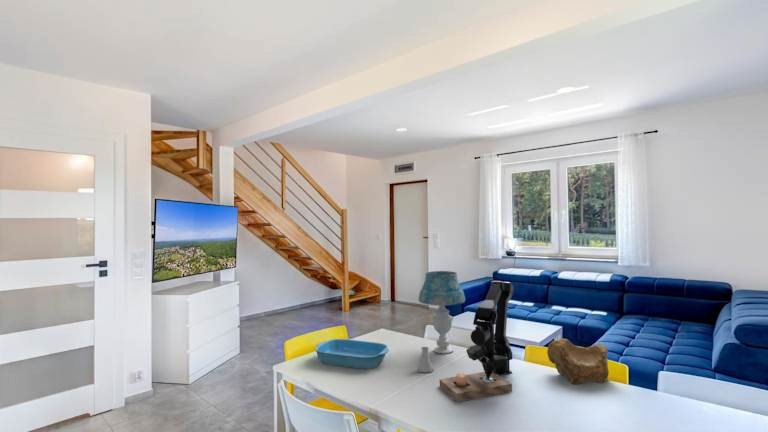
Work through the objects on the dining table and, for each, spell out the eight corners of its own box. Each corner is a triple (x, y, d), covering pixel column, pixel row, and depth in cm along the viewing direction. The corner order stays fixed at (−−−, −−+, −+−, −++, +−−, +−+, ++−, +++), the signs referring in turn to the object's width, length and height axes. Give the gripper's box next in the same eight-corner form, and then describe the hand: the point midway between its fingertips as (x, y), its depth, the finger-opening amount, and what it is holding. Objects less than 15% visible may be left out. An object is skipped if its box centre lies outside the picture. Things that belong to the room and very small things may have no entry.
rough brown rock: (549, 386, 152) (550, 350, 151) (546, 368, 168) (546, 335, 167) (616, 395, 145) (617, 357, 144) (606, 375, 160) (606, 340, 159)
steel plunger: (489, 382, 154) (489, 374, 154) (496, 386, 150) (496, 378, 150) (480, 384, 153) (480, 376, 153) (486, 388, 149) (486, 380, 149)
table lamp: (410, 351, 196) (408, 273, 197) (439, 340, 212) (437, 269, 213) (447, 362, 178) (445, 277, 179) (476, 350, 195) (473, 272, 196)
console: (491, 377, 160) (490, 370, 160) (512, 391, 147) (511, 383, 147) (439, 386, 153) (439, 379, 153) (456, 401, 139) (456, 393, 139)
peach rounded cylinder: (463, 381, 151) (463, 373, 151) (469, 385, 147) (469, 377, 147) (453, 382, 149) (453, 374, 149) (459, 387, 145) (459, 378, 145)
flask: (433, 373, 166) (432, 350, 166) (416, 372, 168) (415, 350, 168) (434, 367, 173) (433, 345, 173) (418, 366, 175) (417, 344, 175)
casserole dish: (395, 357, 188) (395, 342, 189) (379, 374, 168) (378, 358, 168) (329, 350, 201) (329, 336, 202) (306, 365, 181) (306, 350, 181)
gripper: (457, 334, 158) (458, 371, 158) (482, 347, 141) (483, 390, 140) (480, 331, 162) (481, 368, 162) (507, 343, 144) (509, 385, 144)
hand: (488, 377), depth 152 cm, fingers closed, pressing on steel plunger
